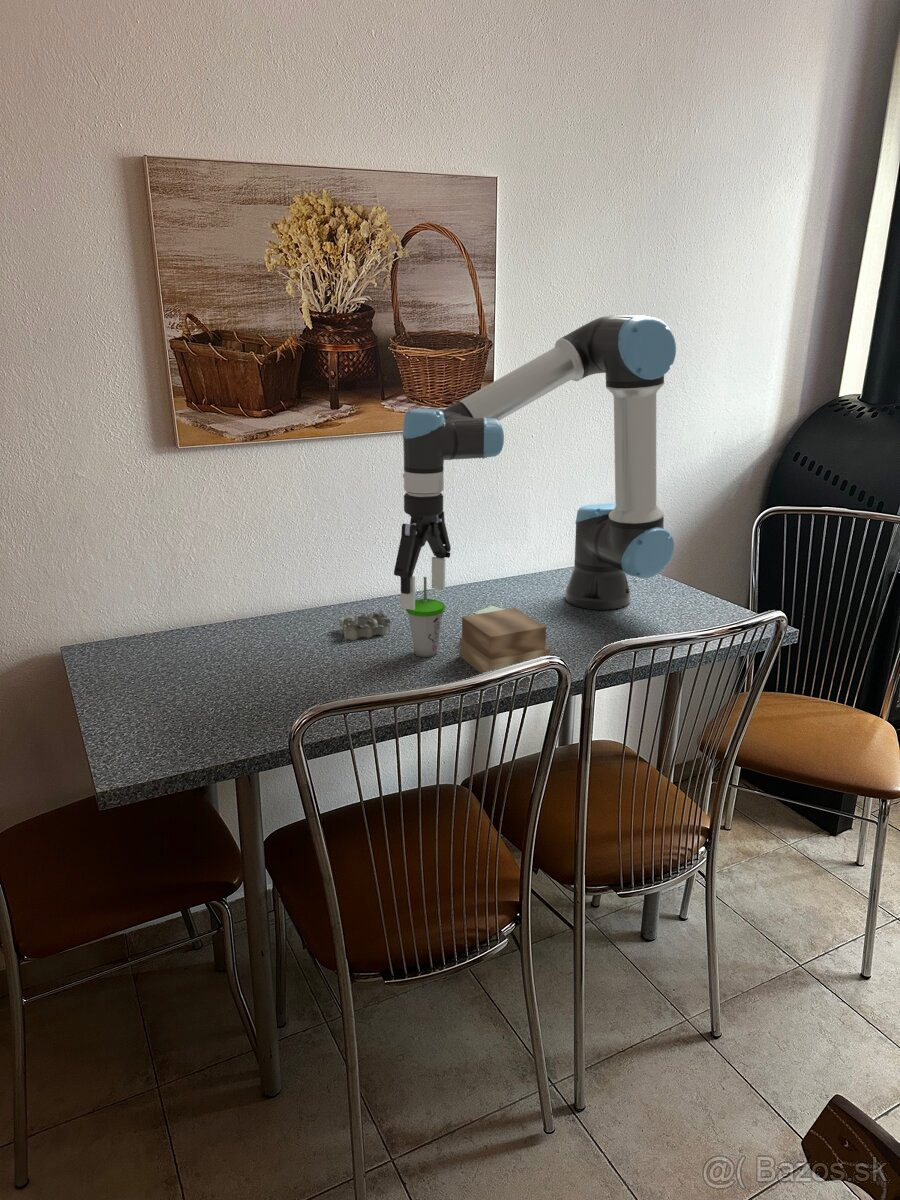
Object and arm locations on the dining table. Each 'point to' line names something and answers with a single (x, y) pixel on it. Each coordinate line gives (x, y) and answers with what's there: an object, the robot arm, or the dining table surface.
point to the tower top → (503, 633)
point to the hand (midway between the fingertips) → (423, 598)
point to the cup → (426, 625)
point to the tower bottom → (486, 664)
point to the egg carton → (364, 625)
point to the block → (488, 610)
